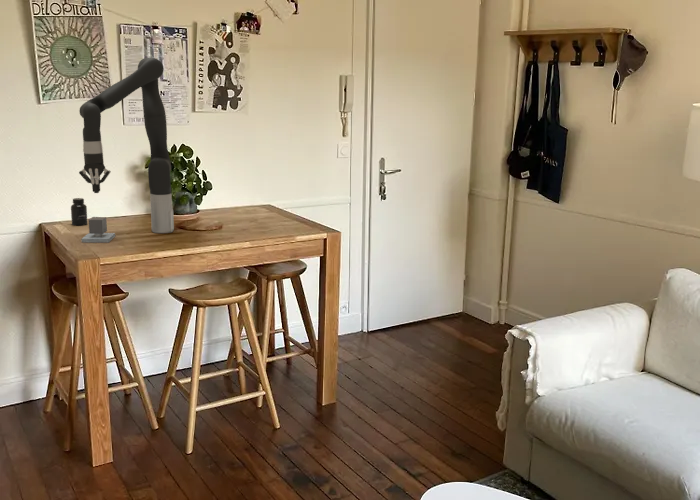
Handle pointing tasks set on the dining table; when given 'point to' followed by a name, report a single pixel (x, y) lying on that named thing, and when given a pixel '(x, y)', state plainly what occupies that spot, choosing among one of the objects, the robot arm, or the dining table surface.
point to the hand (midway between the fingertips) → (96, 192)
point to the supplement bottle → (79, 212)
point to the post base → (98, 238)
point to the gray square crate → (97, 225)
